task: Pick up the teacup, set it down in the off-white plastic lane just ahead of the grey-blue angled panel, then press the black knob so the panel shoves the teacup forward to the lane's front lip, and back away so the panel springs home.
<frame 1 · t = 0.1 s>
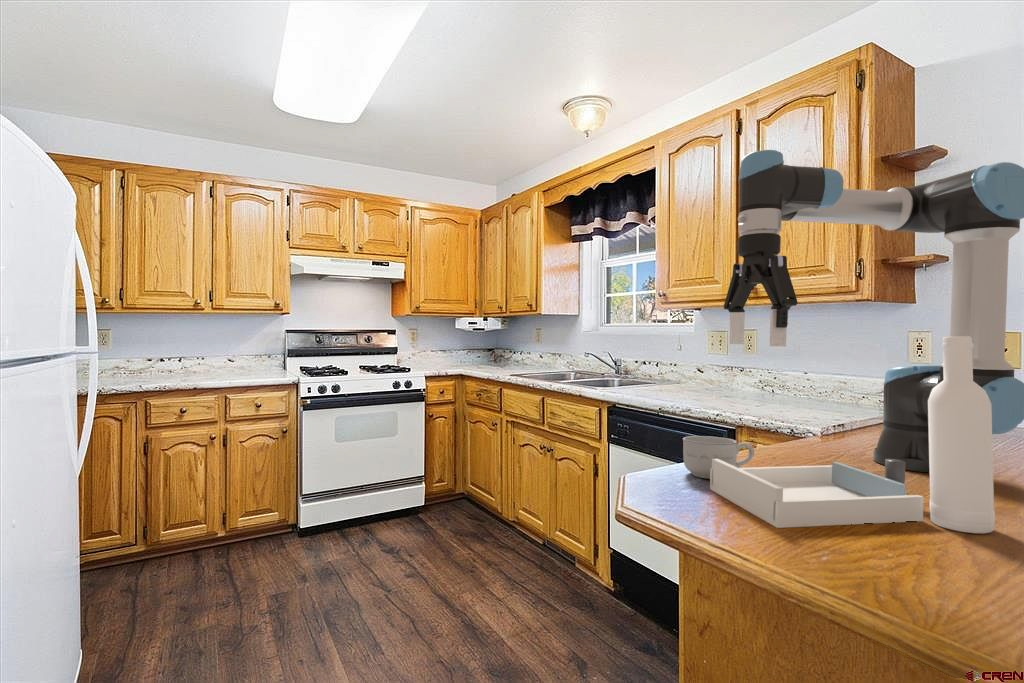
hand: (755, 345, 103), 28 cm above the counter, tool pointing down, fingers open, 13 cm apart
grey-blue angled panel: (882, 477, 96), point 4 cm above the counter, slide at 0.0 cm
bottle: (961, 526, 84), on the counter
teacup: (716, 478, 111), on the counter
lane: (807, 503, 94), on the counter
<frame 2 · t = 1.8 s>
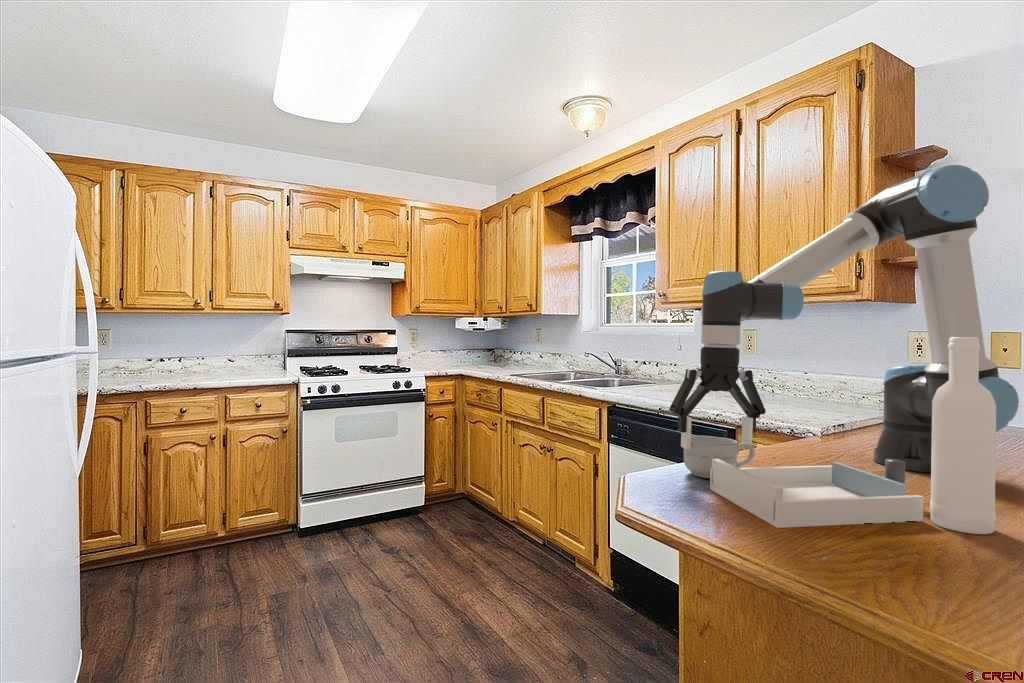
hand: (716, 448, 111), 6 cm above the counter, tool pointing down, fingers open, 13 cm apart
teacup: (716, 477, 111), on the counter, touching gripper
everything else where it was.
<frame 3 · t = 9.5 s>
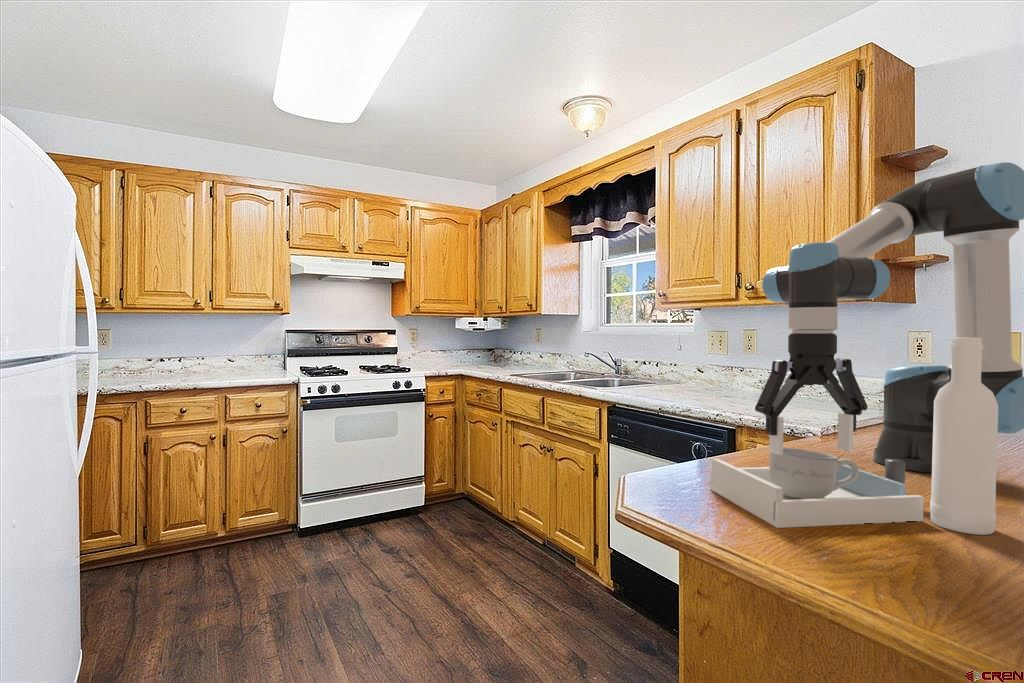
hand: (811, 451, 94), 9 cm above the counter, tool pointing down, fingers open, 13 cm apart
teacup: (809, 498, 94), point 1 cm above the counter, touching lane
everything else where it was.
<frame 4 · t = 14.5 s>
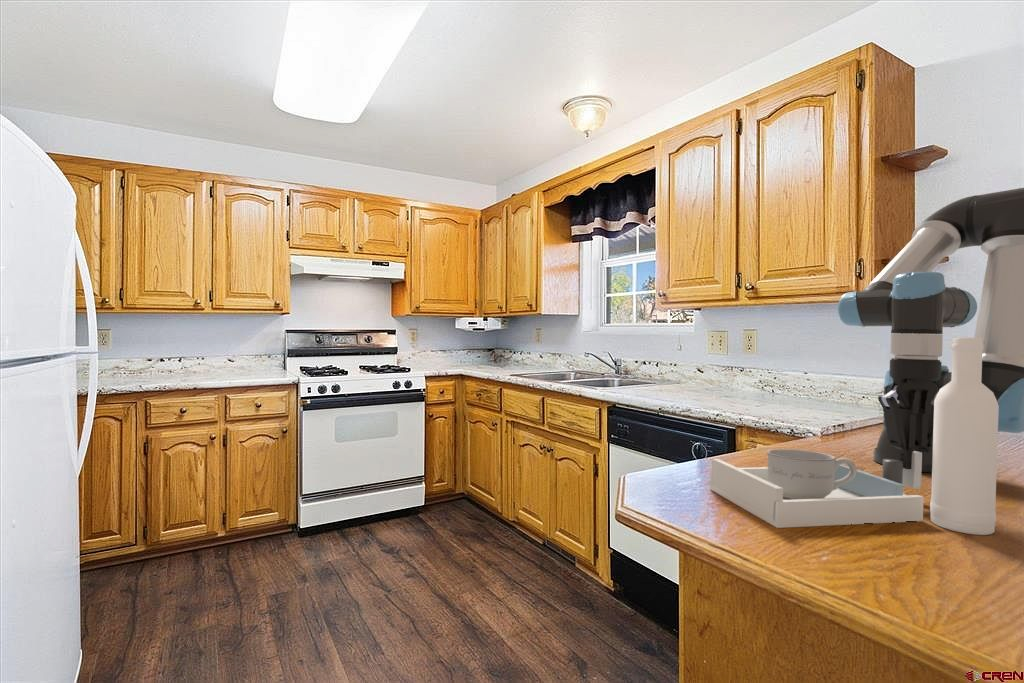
hand: (910, 486, 97), 3 cm above the counter, tool pointing down, fingers closed
grey-blue angled panel: (880, 477, 96), point 4 cm above the counter, slide at 0.5 cm, touching gripper
everything else where it was.
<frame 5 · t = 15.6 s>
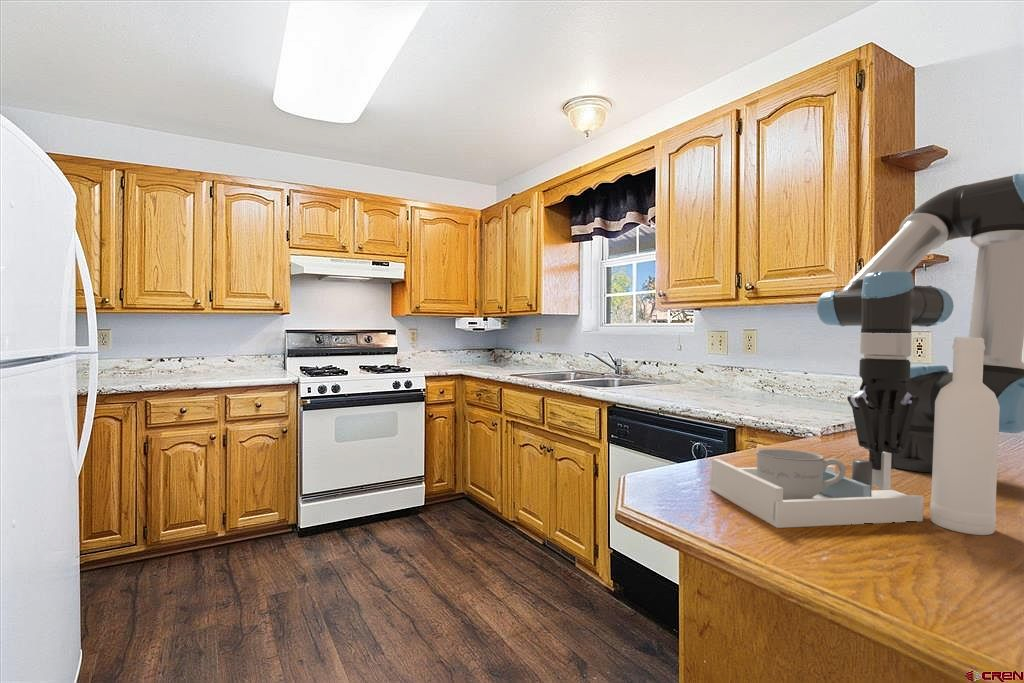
hand: (880, 487, 96), 3 cm above the counter, tool pointing down, fingers closed
grey-blue angled panel: (849, 478, 95), point 4 cm above the counter, slide at 6.8 cm, touching gripper
teacup: (798, 499, 94), point 1 cm above the counter, touching lane
everything else where it was.
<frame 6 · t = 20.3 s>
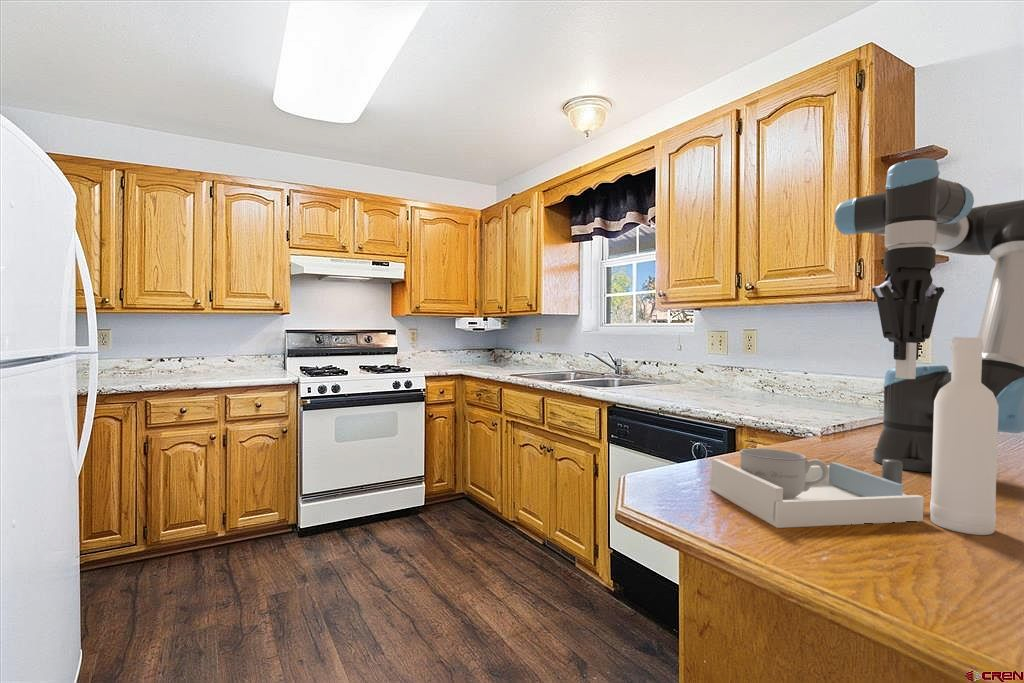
hand: (905, 378, 97), 22 cm above the counter, tool pointing down, fingers closed
grey-blue angled panel: (879, 477, 96), point 4 cm above the counter, slide at 0.6 cm
teacup: (781, 499, 94), point 1 cm above the counter, touching lane
everything else where it was.
at the end: teacup inside the target area (1.5 cm from its centre), point 0.8 cm above the counter; grey-blue angled panel slide at 0.6 cm; teacup tilted 0° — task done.
